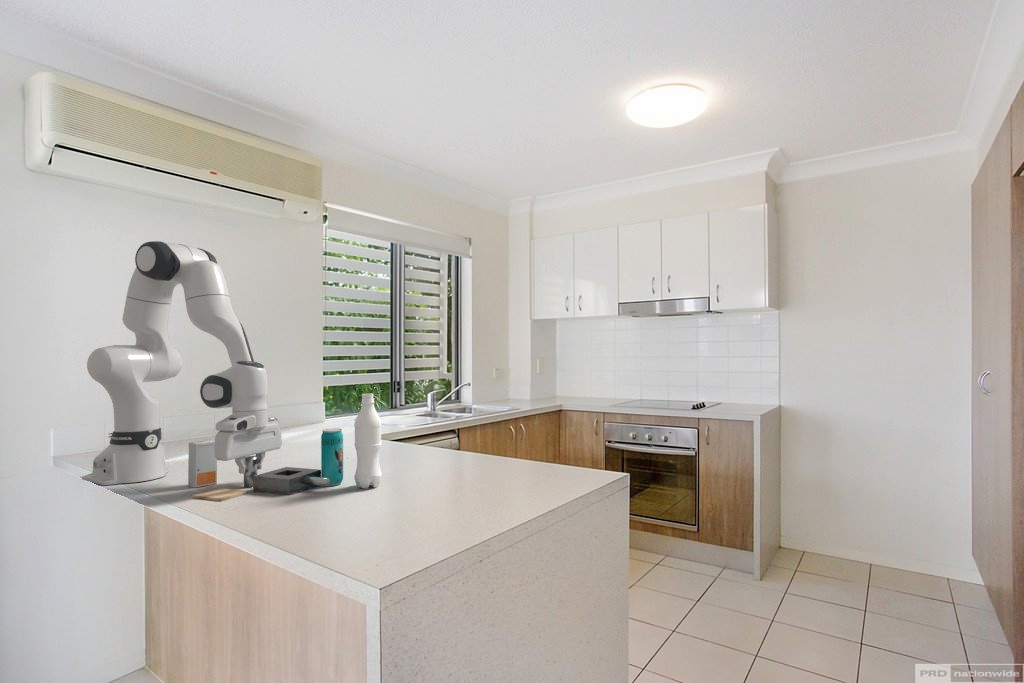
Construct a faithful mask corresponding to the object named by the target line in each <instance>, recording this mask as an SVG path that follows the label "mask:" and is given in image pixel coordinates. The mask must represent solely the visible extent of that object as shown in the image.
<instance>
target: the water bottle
mask: <svg viewBox="0 0 1024 683" xmlns="http://www.w3.org/2000/svg"><path fill="white" fill-rule="evenodd" d="M374 397H375V396H374V393H362V394H361V402H360V403H361V407H360V408H361V409H360V410H359V412H358V414H357V416H356V418H355V420H354V423H353V424H354V425H353V427H354V447H355V452H356V459H357V461H356V469H355V473H354V481H355V485H356V486H357V487H358V488H361V489H364V490H367V489H369V487H370V486H371V487H372V488H378V487H379V485H380V484H381V481H382V476H383V473H382V471H381V470H382V469H381V466H380V450H381V447H382V446H383V445H382V444H383V443H382V420H381V417H380V415H379V414H378V412H377V409H376V408H375V399H374Z"/></svg>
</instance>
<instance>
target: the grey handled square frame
mask: <svg viewBox="0 0 1024 683" xmlns="http://www.w3.org/2000/svg"><path fill="white" fill-rule="evenodd" d="M329 484H330V479H329V478H322V477H321V469H318V468H317V469H315V468H305V467H304V468H303V467H294V466H293V467H292V466H285V467H281V468H278V469H274V470H271V471H267V472H263V473H259V474H257V475H255V476H253V488H252V491H253V492H256V493H265V494H274V495H275V494H276V495H283V496H284V495H285V496H291V495H294V494H297V493H299V492H303V491H306V490H309V489H312V488H314V487H317V486H322V487H329V486H328V485H329Z"/></svg>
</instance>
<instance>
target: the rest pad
mask: <svg viewBox="0 0 1024 683" xmlns="http://www.w3.org/2000/svg"><path fill="white" fill-rule="evenodd" d="M246 494H248V490H243V489H241V490H240V489H230V488H222V487H217V488H214V489H210V490H205V491H202V492H199V493H195V494H192V495H191V497H190V498H191V499H199V500H207V501H208V500H209V501H214V502H215V501H216V502H222V501H226V500H230V499H232V498H235V497H239V496H242V495H246Z"/></svg>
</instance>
